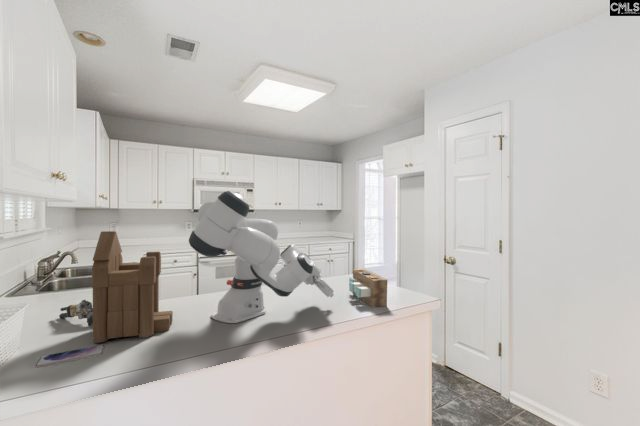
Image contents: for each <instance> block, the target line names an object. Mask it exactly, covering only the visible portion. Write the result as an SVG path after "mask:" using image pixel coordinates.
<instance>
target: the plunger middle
mask: <svg viewBox="0 0 640 426" xmlns="http://www.w3.org/2000/svg"><path fill="white" fill-rule="evenodd" d="M356 286H358V287H364V283H363V282H354V283H352V282H349V281H348V287H349V289H348V290H349V292H350V293H352V294H355V293H354V292H356Z"/></svg>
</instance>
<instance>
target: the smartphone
mask: <svg viewBox="0 0 640 426" xmlns="http://www.w3.org/2000/svg"><path fill="white" fill-rule="evenodd" d="M104 349H105V345H104V344H100V345H95V346H89V347H84V348H78V349H72V350H68V351H63V352H62V351H61V352H57V353H51V354H45V355H42V356H40V358H39V359H38V361H37V362H36V363H35V365H34V368H35V369H37V368H38V369H39V368H43V367H47V366H48V367H49V366H53V365H58V364H63V363H70V362H73V361H79V360H85V359H89V357H90V358H94V356H96V357H99V355H100V356H102V355H103V354H104Z"/></svg>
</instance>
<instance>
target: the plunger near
mask: <svg viewBox="0 0 640 426" xmlns="http://www.w3.org/2000/svg"><path fill="white" fill-rule="evenodd" d="M355 296H356V297H357V298H358V299H361V297H369V296H371V287H369V286H366V287H358V286H356V294H355Z"/></svg>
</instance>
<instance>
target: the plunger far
mask: <svg viewBox="0 0 640 426" xmlns="http://www.w3.org/2000/svg"><path fill="white" fill-rule="evenodd" d="M348 279H349V281H348V283H349V282H352V283H354V282H358V279H356V278H353V277H349V278H348Z"/></svg>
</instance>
